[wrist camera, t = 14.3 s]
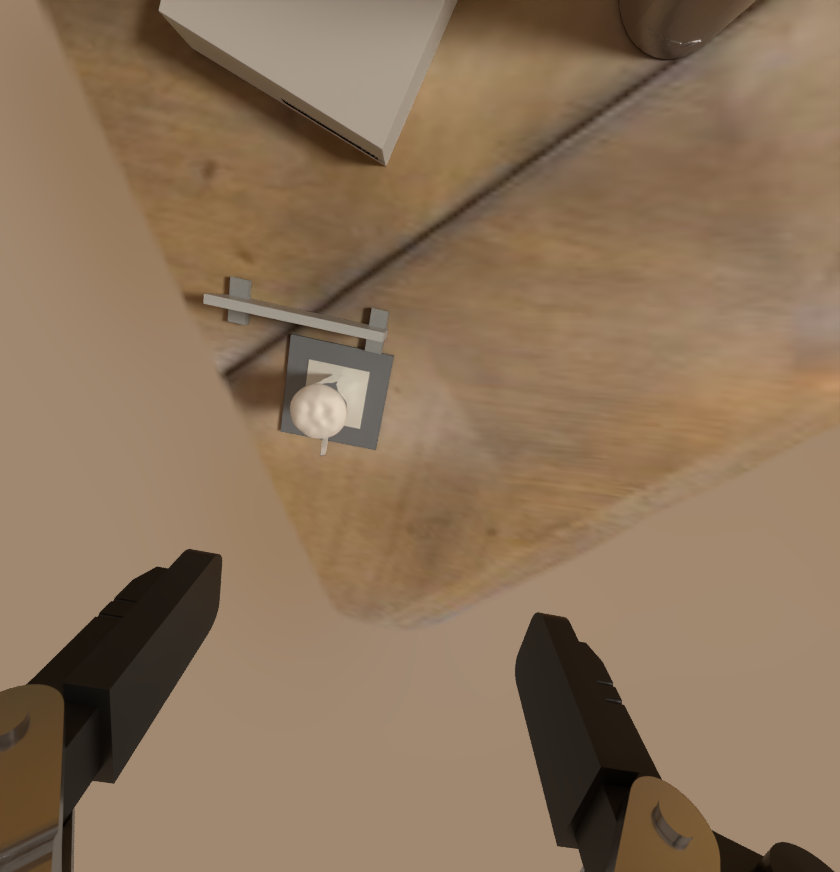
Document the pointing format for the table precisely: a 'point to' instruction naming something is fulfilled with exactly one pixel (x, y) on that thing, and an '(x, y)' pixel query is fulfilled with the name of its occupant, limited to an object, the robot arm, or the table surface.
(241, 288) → the divider wall
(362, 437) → the mat
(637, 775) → the robot arm
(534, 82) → the table surface
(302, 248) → the table surface
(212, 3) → the disc drive
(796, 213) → the table surface
